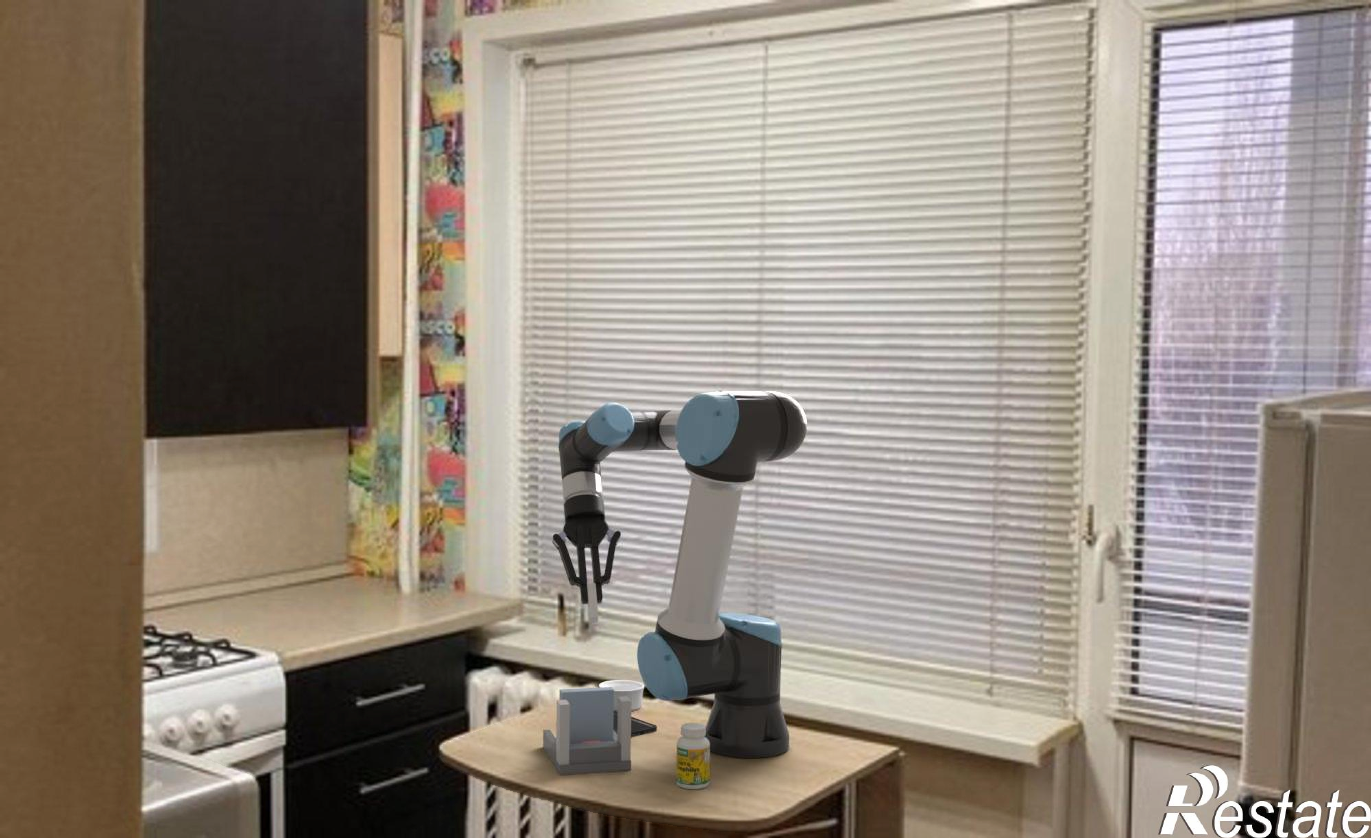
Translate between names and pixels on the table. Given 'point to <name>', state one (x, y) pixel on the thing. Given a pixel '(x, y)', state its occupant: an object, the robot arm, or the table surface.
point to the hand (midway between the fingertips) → (593, 619)
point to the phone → (635, 726)
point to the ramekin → (626, 692)
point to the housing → (589, 745)
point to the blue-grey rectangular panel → (590, 713)
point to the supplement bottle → (693, 757)
